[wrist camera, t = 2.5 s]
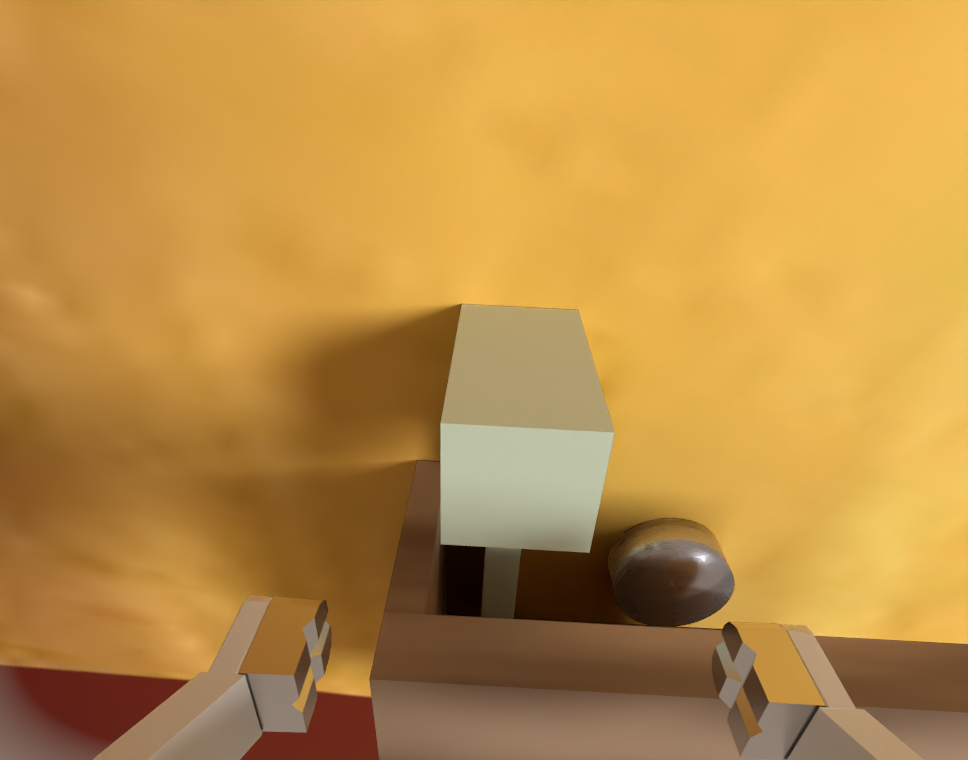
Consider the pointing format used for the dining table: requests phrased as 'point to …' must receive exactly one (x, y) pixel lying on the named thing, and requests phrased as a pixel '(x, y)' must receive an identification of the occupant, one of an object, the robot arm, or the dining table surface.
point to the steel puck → (669, 572)
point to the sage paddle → (521, 441)
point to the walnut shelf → (602, 677)
